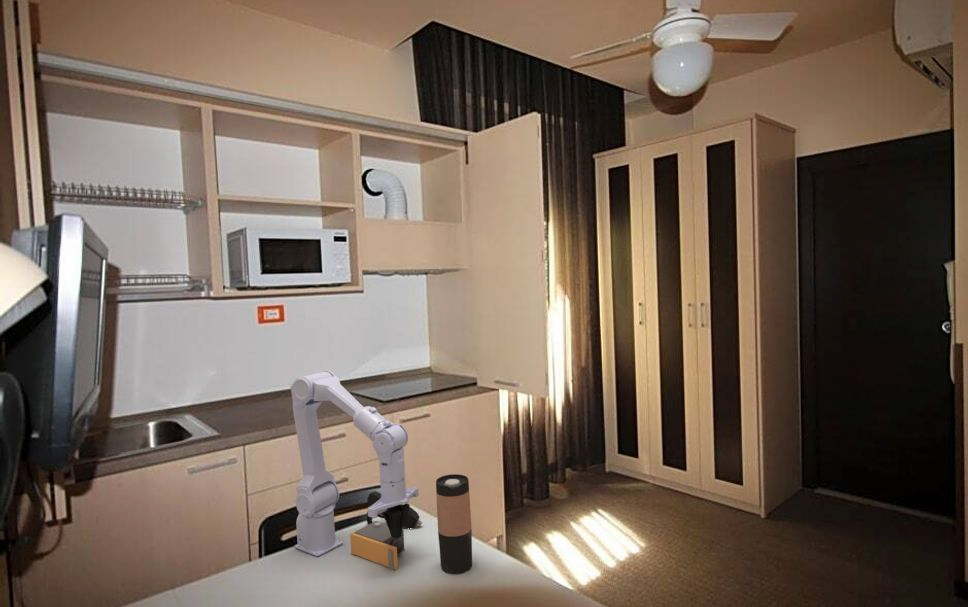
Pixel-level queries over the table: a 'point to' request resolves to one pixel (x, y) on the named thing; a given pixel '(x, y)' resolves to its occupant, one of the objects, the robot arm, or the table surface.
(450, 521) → the travel mug
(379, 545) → the side door
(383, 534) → the camera housing
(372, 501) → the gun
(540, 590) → the table surface
